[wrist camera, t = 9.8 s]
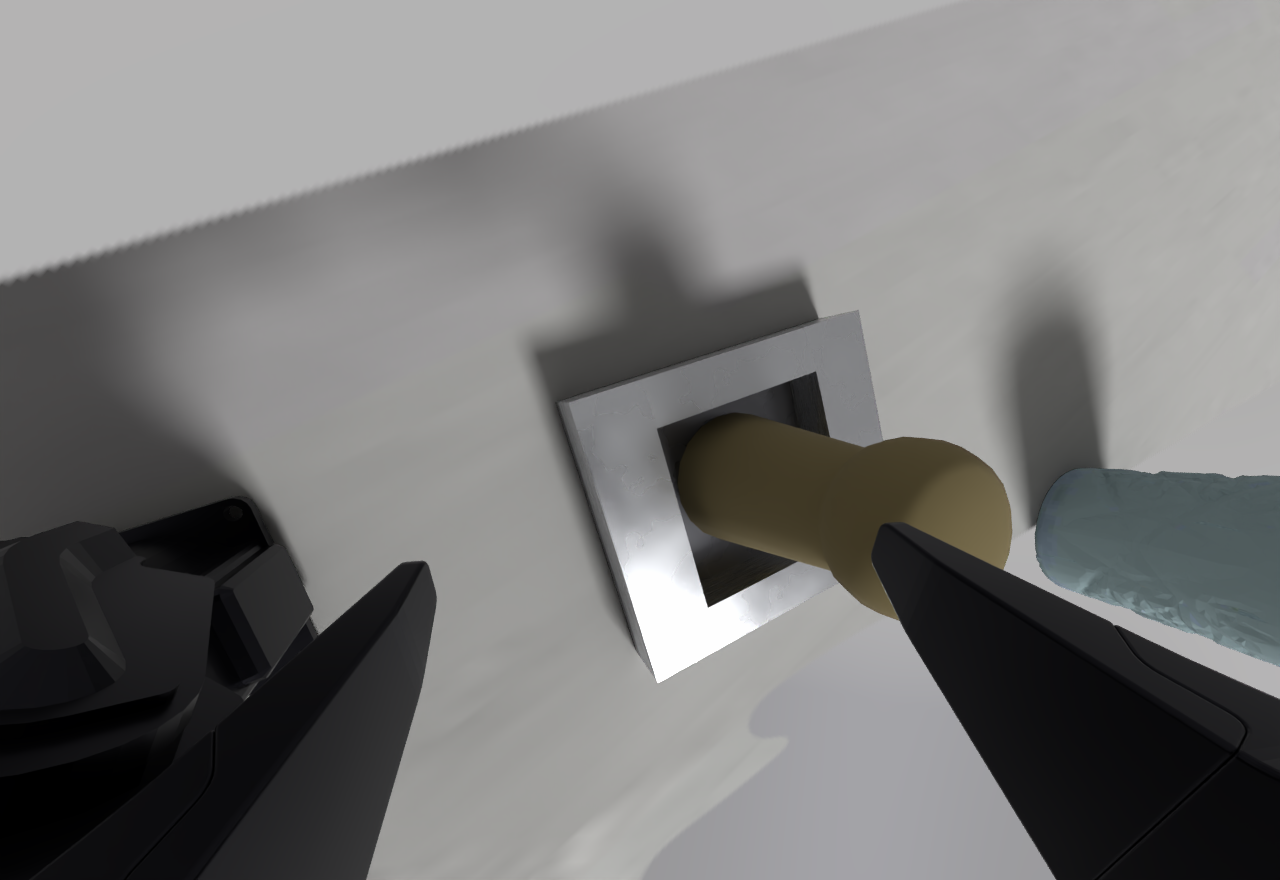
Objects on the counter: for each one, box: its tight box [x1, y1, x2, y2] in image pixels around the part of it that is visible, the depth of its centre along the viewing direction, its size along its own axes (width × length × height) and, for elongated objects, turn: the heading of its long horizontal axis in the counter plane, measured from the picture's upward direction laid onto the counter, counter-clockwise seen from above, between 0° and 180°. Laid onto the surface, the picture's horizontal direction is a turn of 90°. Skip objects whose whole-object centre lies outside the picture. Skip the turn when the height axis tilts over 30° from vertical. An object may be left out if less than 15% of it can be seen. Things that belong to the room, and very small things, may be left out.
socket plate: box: [556, 310, 883, 682], centre depth 21 cm, size 14×12×3 cm
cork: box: [678, 412, 1012, 621], centre depth 17 cm, size 6×6×11 cm
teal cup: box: [1035, 468, 1280, 667], centre depth 27 cm, size 10×10×12 cm
